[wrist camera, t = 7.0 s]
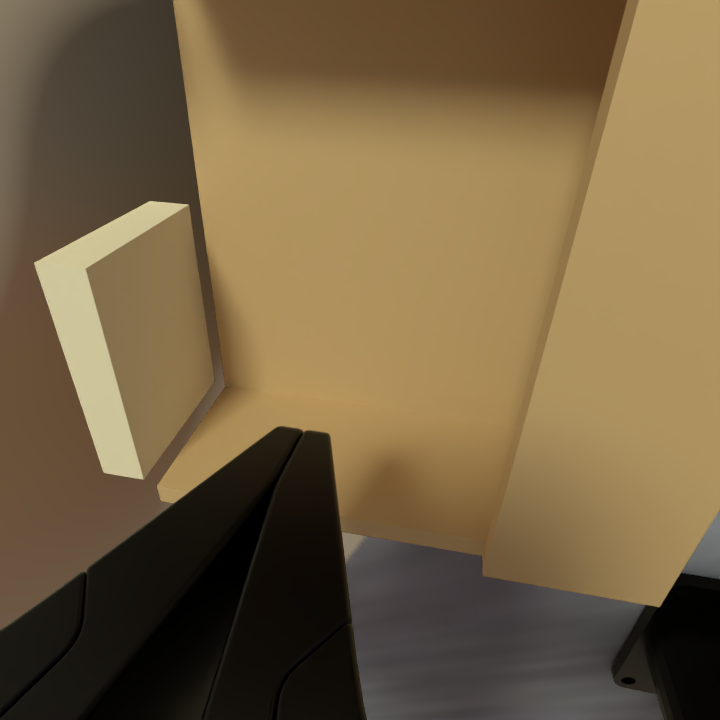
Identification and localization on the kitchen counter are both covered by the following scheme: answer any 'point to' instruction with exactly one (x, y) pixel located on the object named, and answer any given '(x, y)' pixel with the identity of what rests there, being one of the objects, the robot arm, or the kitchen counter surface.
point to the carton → (471, 269)
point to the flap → (132, 331)
